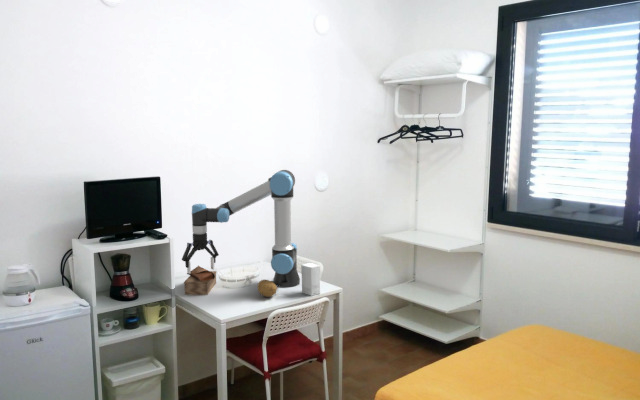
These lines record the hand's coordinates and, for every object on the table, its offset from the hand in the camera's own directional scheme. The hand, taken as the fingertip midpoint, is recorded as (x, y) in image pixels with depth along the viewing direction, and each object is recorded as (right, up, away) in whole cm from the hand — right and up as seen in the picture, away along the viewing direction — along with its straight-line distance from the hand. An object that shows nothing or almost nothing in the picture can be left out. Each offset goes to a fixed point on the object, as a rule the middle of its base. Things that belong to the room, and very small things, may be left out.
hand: (201, 271), depth 271 cm
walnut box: (0, -10, +1) cm, 10 cm away
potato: (+37, -12, -9) cm, 40 cm away
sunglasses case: (0, -3, 0) cm, 3 cm away
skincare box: (+60, -11, -5) cm, 61 cm away
